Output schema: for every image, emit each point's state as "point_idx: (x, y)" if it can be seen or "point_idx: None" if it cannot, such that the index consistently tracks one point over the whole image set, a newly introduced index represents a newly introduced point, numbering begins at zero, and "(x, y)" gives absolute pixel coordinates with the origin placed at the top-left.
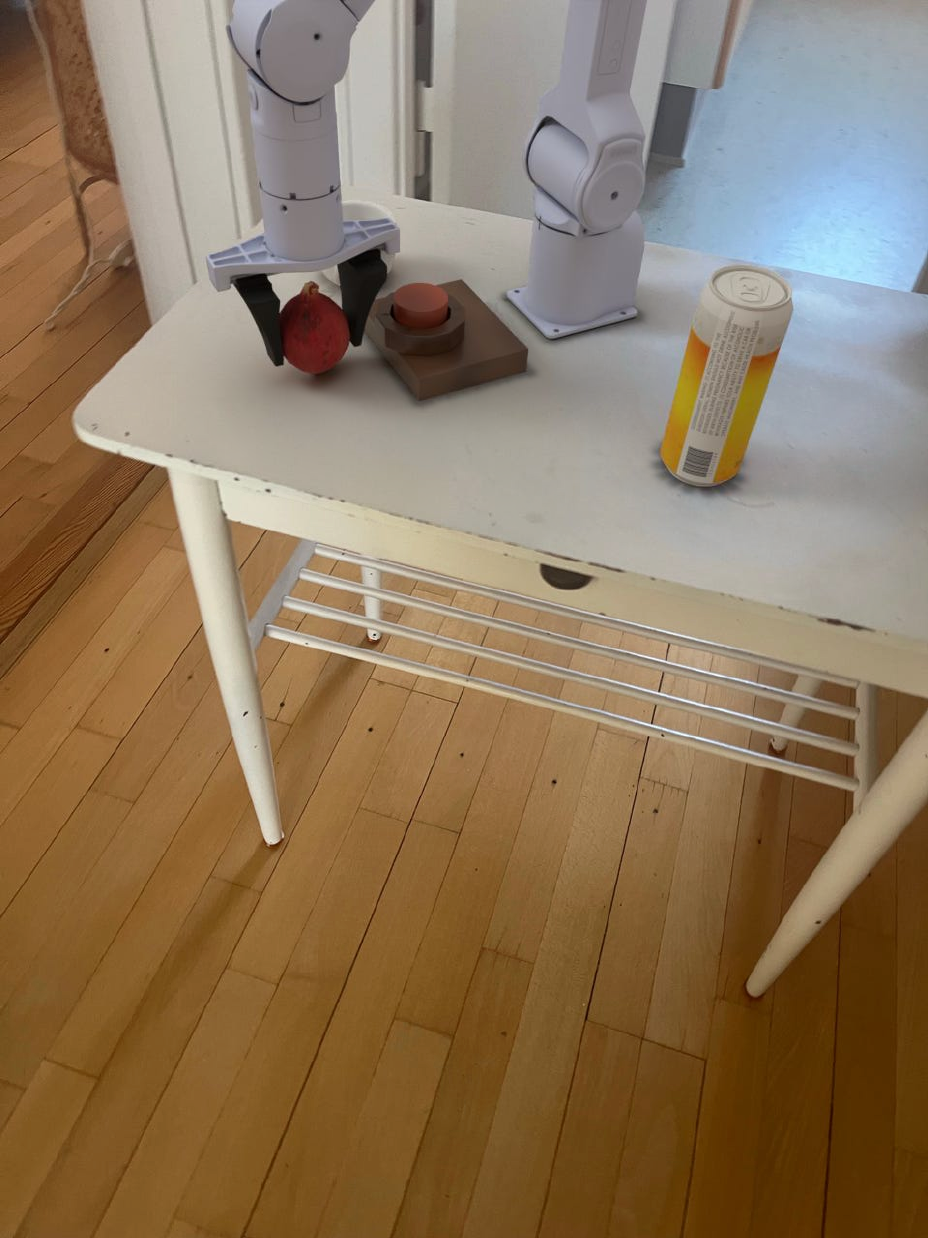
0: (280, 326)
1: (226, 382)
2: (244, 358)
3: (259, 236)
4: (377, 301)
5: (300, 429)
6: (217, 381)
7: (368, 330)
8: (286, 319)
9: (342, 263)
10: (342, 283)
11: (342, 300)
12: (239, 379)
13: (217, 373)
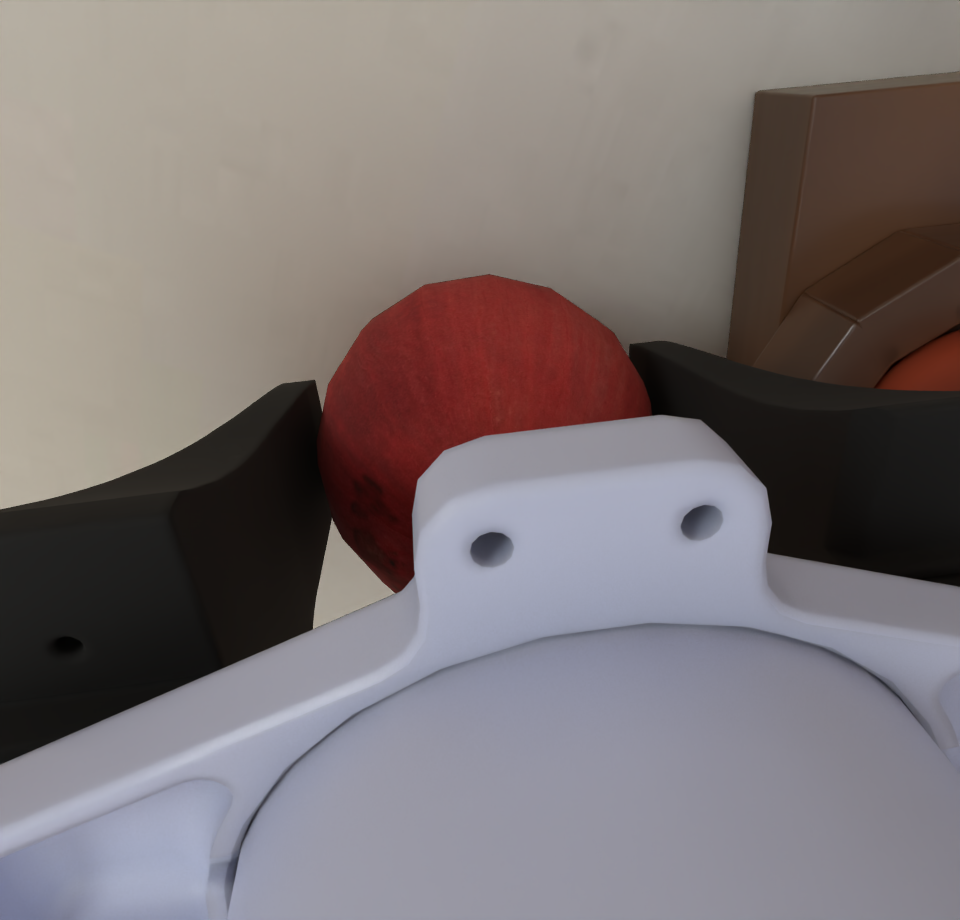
0: (334, 504)
1: (118, 324)
2: (201, 178)
3: (178, 776)
4: (899, 114)
5: (344, 602)
6: (80, 307)
7: (756, 206)
8: (361, 552)
9: (805, 531)
10: (739, 439)
11: (695, 380)
12: (171, 320)
13: (78, 253)
